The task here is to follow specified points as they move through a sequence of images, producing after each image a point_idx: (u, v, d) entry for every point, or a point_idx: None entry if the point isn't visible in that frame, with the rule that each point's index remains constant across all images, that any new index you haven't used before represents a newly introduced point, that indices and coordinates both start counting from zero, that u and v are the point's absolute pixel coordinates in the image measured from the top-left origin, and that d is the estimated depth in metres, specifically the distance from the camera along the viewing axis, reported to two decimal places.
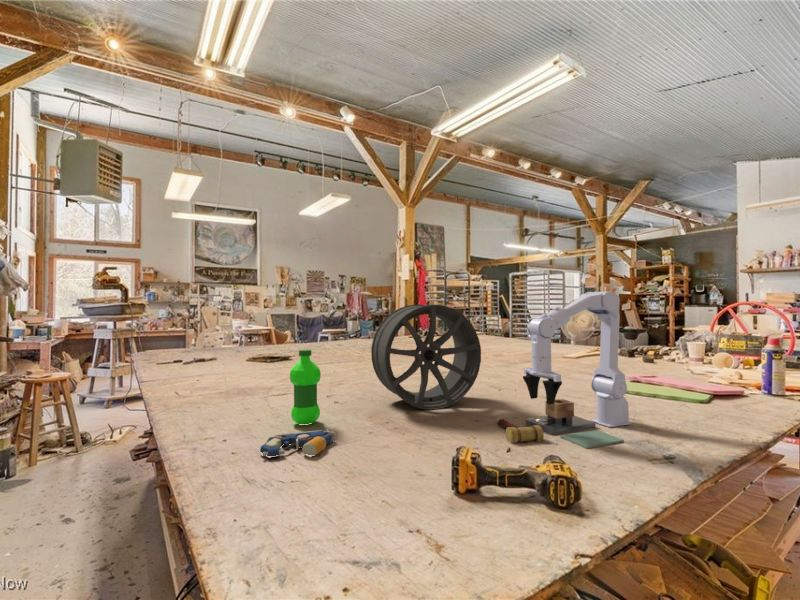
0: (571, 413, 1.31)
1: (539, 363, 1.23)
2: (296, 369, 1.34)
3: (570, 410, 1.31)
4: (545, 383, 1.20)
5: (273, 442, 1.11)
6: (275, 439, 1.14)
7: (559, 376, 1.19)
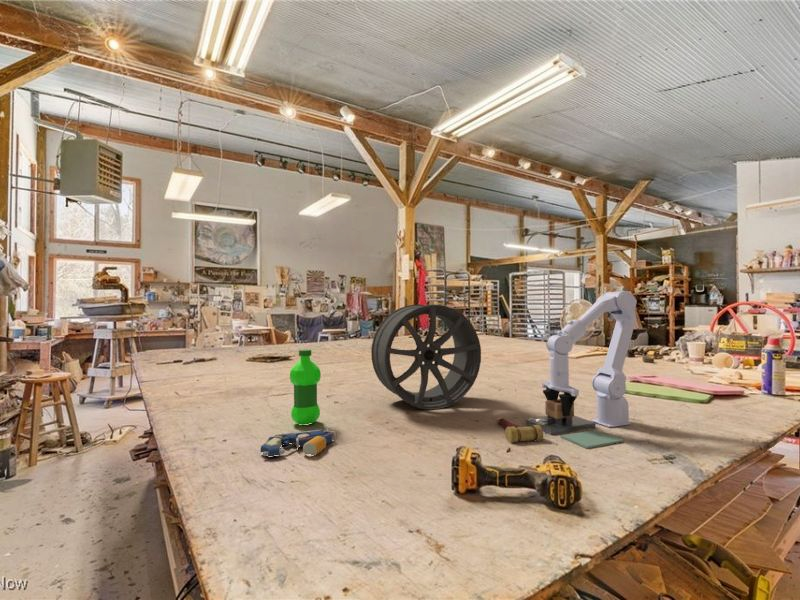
0: (571, 413, 1.31)
1: (557, 378, 1.30)
2: (296, 369, 1.34)
3: None
4: (561, 396, 1.28)
5: (273, 442, 1.11)
6: (275, 439, 1.14)
7: (577, 391, 1.26)
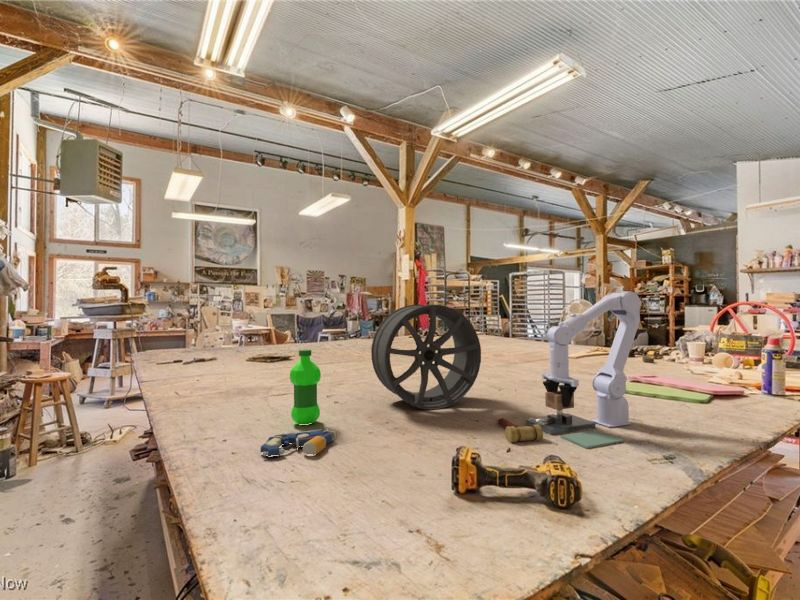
0: (571, 404, 1.31)
1: (557, 369, 1.30)
2: (296, 369, 1.34)
3: None
4: (561, 387, 1.28)
5: (273, 442, 1.12)
6: (275, 439, 1.14)
7: (577, 381, 1.26)
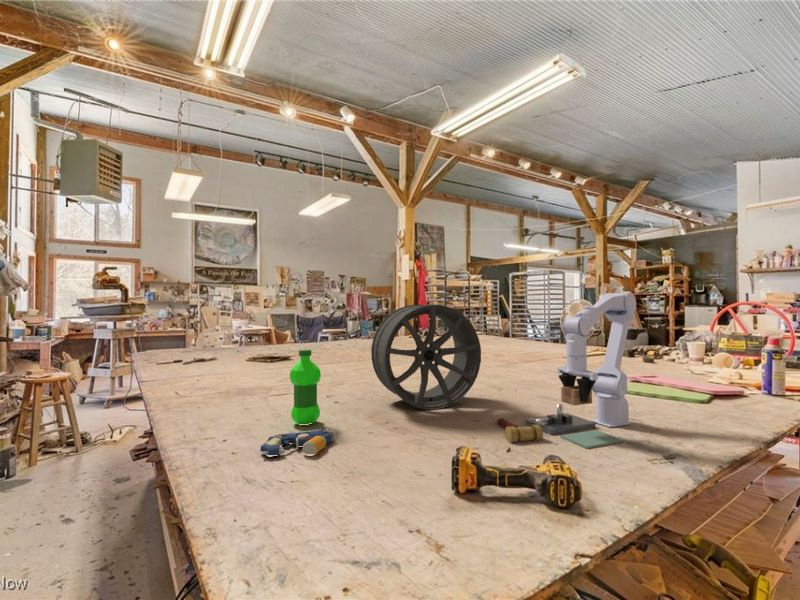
0: (589, 400, 1.23)
1: (574, 361, 1.23)
2: (296, 369, 1.34)
3: None
4: (579, 381, 1.20)
5: (273, 441, 1.12)
6: (275, 438, 1.14)
7: (596, 375, 1.18)
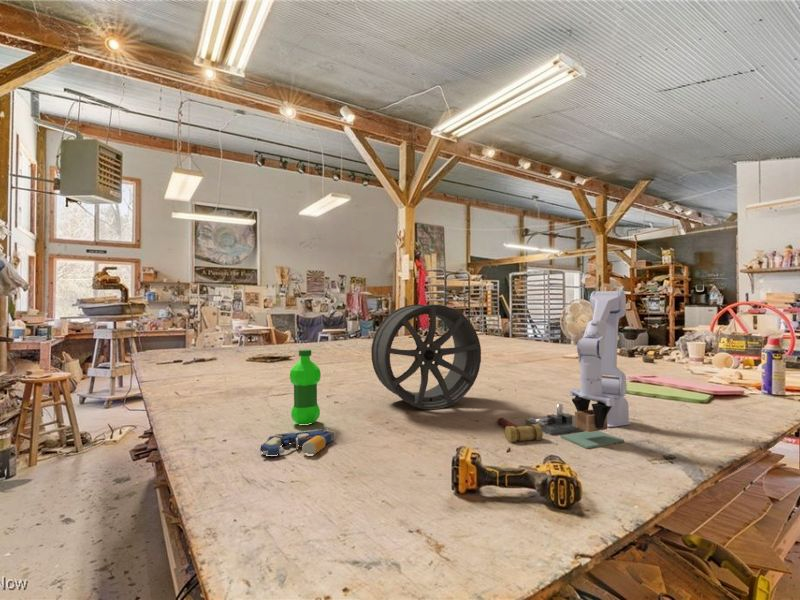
0: (604, 426, 1.18)
1: (589, 385, 1.17)
2: (296, 369, 1.34)
3: None
4: (594, 406, 1.15)
5: (273, 441, 1.12)
6: (275, 438, 1.14)
7: (612, 400, 1.13)
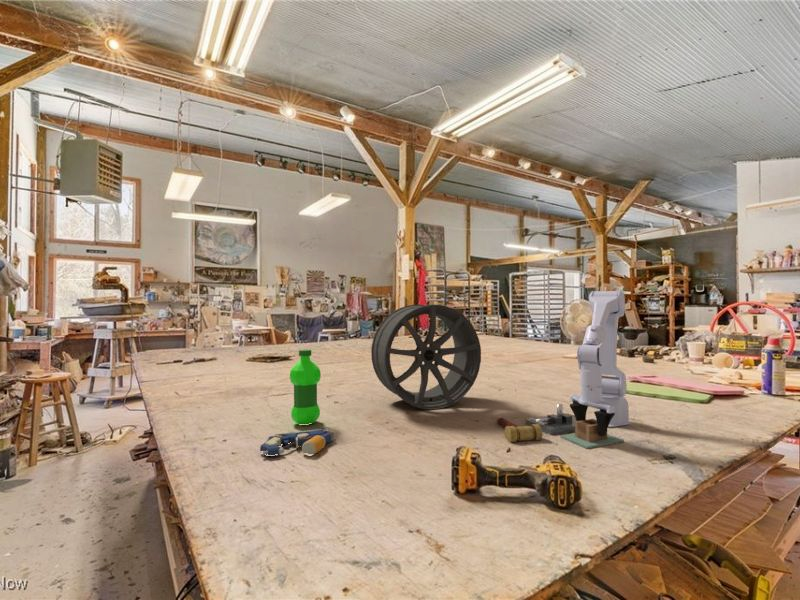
0: None
1: (589, 392, 1.17)
2: (296, 369, 1.34)
3: None
4: (597, 414, 1.14)
5: (273, 441, 1.12)
6: (275, 438, 1.15)
7: (612, 407, 1.13)
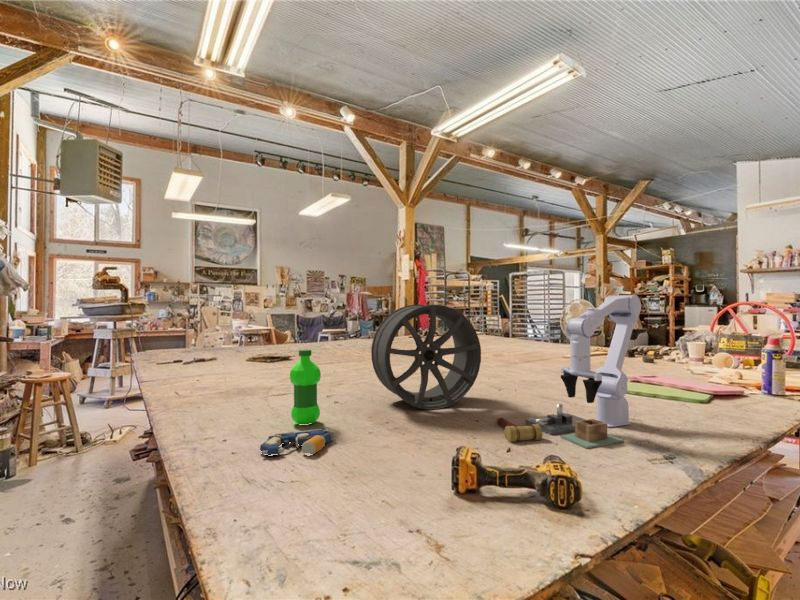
0: (604, 435, 1.18)
1: (579, 362, 1.24)
2: (296, 369, 1.34)
3: (603, 432, 1.18)
4: (585, 382, 1.22)
5: (273, 441, 1.12)
6: (275, 438, 1.15)
7: (600, 375, 1.20)
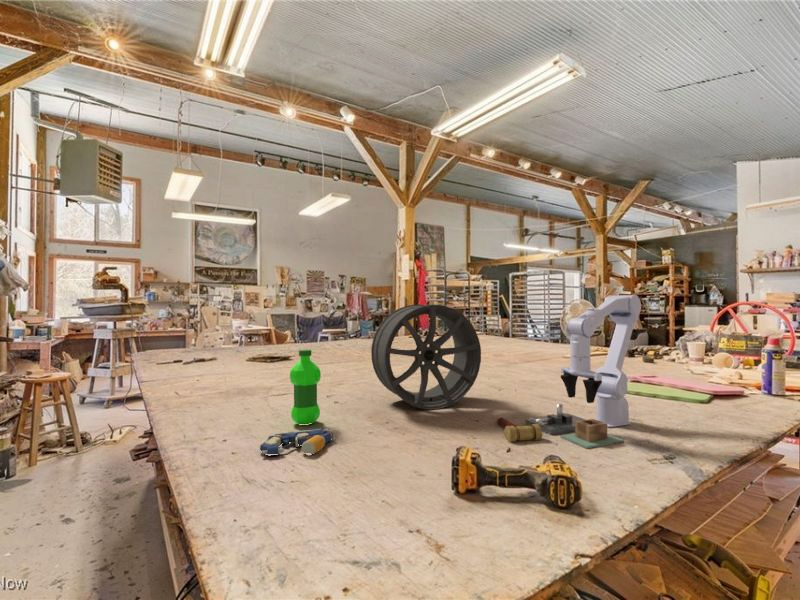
0: (604, 435, 1.18)
1: (579, 362, 1.25)
2: (296, 369, 1.34)
3: (603, 432, 1.18)
4: (585, 382, 1.22)
5: (273, 441, 1.12)
6: (275, 438, 1.15)
7: (600, 375, 1.20)
